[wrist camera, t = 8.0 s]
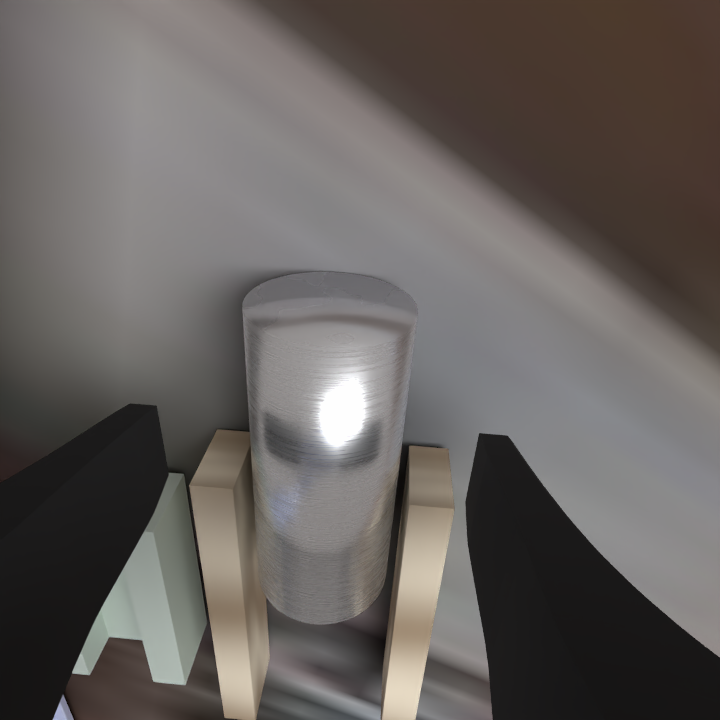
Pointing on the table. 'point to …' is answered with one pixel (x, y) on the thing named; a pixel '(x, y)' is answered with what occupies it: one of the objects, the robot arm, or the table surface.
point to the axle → (326, 436)
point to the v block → (156, 594)
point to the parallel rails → (248, 602)
